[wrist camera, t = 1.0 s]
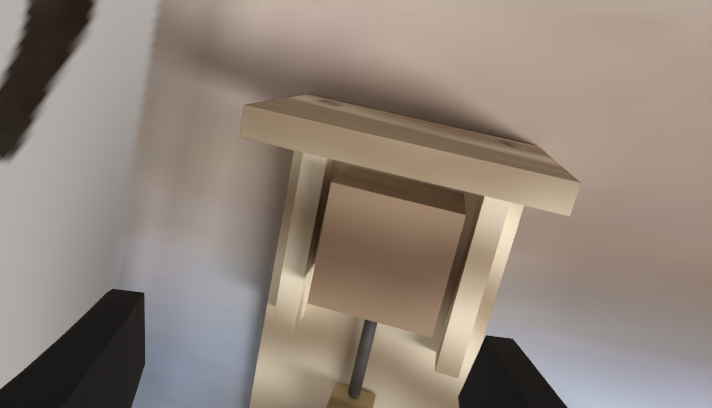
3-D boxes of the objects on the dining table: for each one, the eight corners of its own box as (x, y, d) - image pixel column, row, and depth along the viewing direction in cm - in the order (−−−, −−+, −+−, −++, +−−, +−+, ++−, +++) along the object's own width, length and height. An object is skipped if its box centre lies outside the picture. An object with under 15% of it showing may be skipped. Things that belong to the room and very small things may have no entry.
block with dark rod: (395, 446, 30) (387, 500, 27) (296, 416, 31) (275, 465, 27) (463, 194, 26) (466, 215, 22) (348, 166, 27) (331, 182, 23)
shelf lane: (409, 566, 34) (395, 735, 25) (235, 510, 35) (165, 652, 27) (538, 146, 26) (581, 183, 18) (308, 94, 28) (244, 105, 19)
